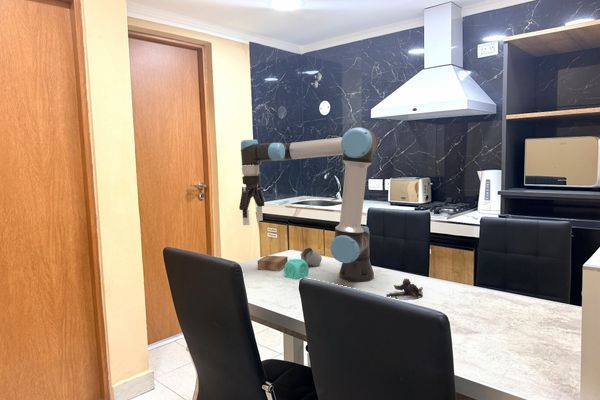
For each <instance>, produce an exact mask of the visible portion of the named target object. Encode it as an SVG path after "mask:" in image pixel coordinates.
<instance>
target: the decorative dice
mask: <svg viewBox="0 0 600 400" xmlns="http://www.w3.org/2000/svg"><path fill="white" fill-rule="evenodd" d="M287 260H288V259H287ZM309 269H310V268H309V264H307V263H306V261H305V260H302V259H301V258H293V259H289V260H288V261H287V263H286V264H285V267H284V269H283V272H284V275H285V277H286V278H287V279H292V280H301V279H300V278H302V279H304V278H303V277H305V278H307V277H308V276H309V272H310V270H309Z"/></svg>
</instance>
